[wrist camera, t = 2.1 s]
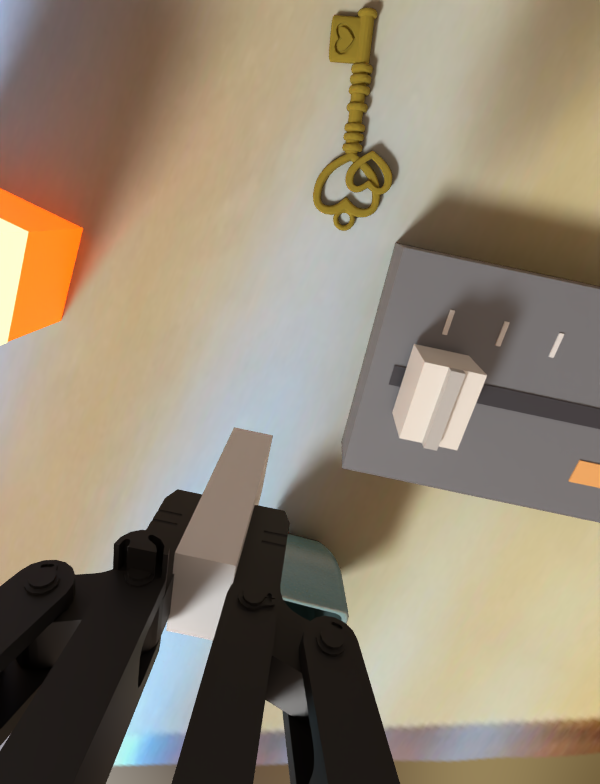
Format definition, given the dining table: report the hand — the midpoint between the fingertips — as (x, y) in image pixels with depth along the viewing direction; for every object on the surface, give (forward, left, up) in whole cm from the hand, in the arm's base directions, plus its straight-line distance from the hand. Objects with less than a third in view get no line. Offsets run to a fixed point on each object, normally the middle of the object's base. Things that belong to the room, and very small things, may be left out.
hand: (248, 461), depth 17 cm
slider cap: (0, +10, -13) cm, 16 cm away
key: (-14, +2, -18) cm, 23 cm away
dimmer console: (0, +17, -17) cm, 24 cm away
